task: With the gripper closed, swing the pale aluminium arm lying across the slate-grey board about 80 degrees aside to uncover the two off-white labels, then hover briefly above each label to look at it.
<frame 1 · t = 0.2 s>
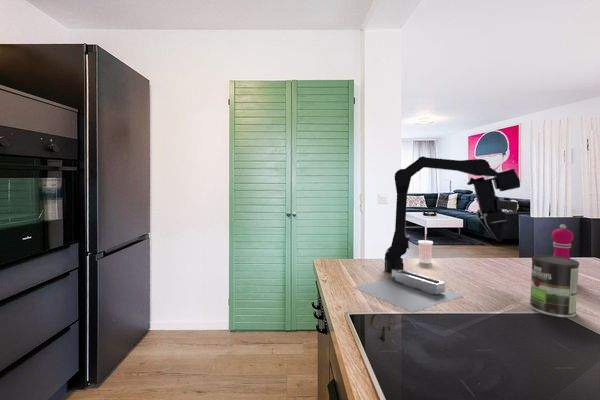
hand: (496, 238, 114), 15 cm above the worktop, tool pointing down, fingers open, 9 cm apart
beverage cup: (425, 262, 144), on the worktop
pepper mill: (560, 281, 116), on the worktop
coffee can: (552, 310, 91), on the worktop
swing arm: (415, 279, 108), point 3 cm above the worktop, hinge at 0.0°
label board: (405, 294, 104), on the worktop
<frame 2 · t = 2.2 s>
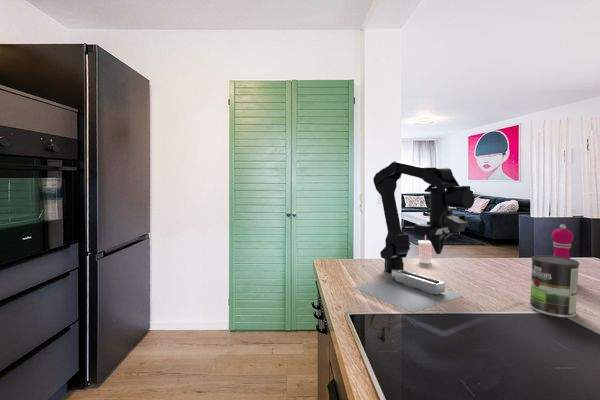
hand: (438, 253, 108), 12 cm above the worktop, tool pointing down, fingers closed
nothing on the worktop moved.
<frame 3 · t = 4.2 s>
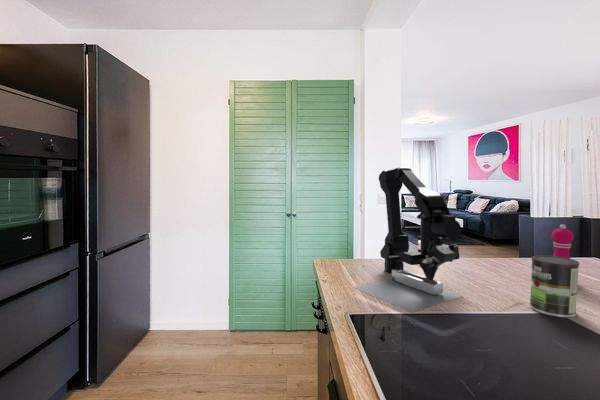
hand: (430, 282, 106), 3 cm above the worktop, tool pointing down, fingers closed
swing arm: (414, 280, 108), point 3 cm above the worktop, hinge at -3.4°, touching gripper
everything else where it was.
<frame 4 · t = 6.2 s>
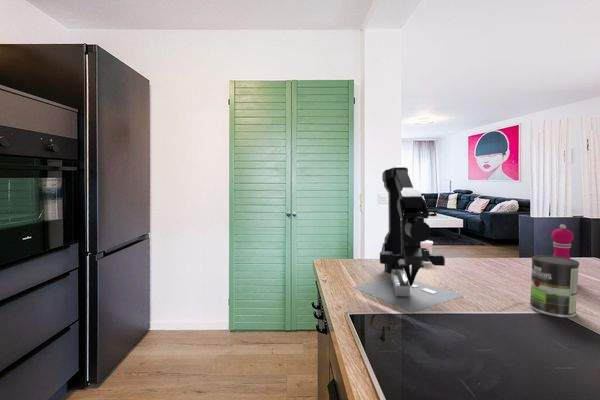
hand: (410, 285, 103), 3 cm above the worktop, tool pointing down, fingers closed
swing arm: (399, 280, 107), point 3 cm above the worktop, hinge at -42.5°, touching gripper
everything else where it was.
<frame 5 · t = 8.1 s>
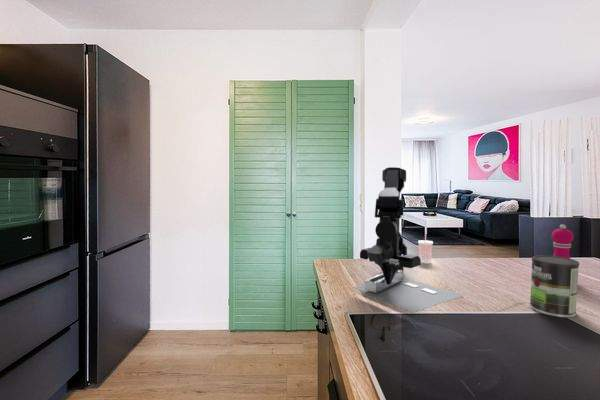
hand: (388, 284, 105), 3 cm above the worktop, tool pointing down, fingers closed
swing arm: (385, 279, 109), point 3 cm above the worktop, hinge at -76.0°, touching gripper
everything else where it was.
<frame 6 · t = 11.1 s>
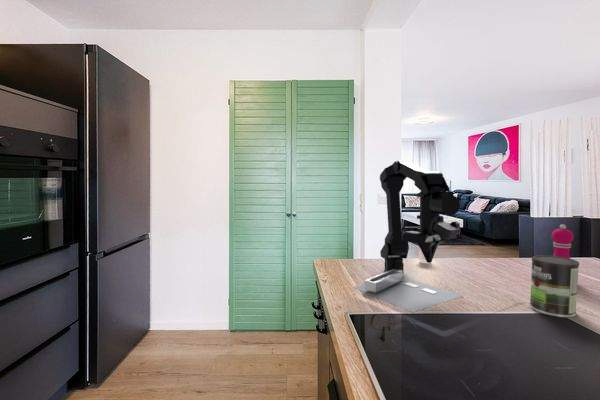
hand: (429, 262, 103), 10 cm above the worktop, tool pointing down, fingers closed
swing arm: (385, 279, 109), point 3 cm above the worktop, hinge at -76.2°
everything else where it was.
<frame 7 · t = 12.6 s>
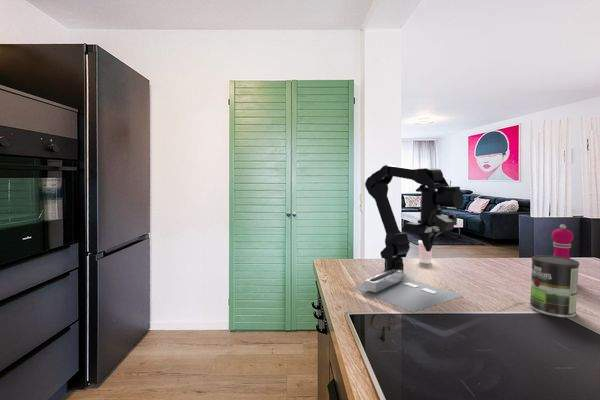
hand: (428, 251, 113), 11 cm above the worktop, tool pointing down, fingers closed
nothing on the worktop moved.
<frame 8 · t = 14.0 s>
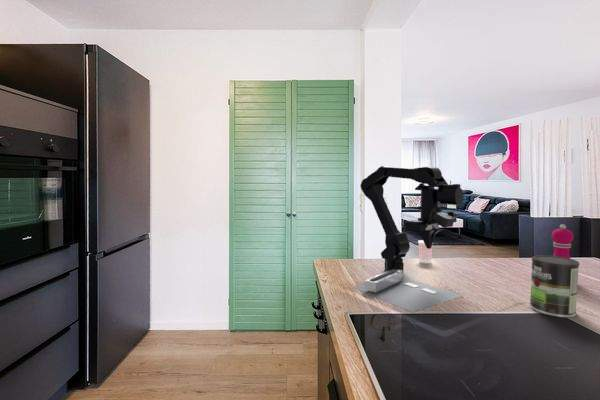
hand: (428, 248, 115), 12 cm above the worktop, tool pointing down, fingers closed
nothing on the worktop moved.
at the end: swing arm at -76° (first picture: +0°) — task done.
